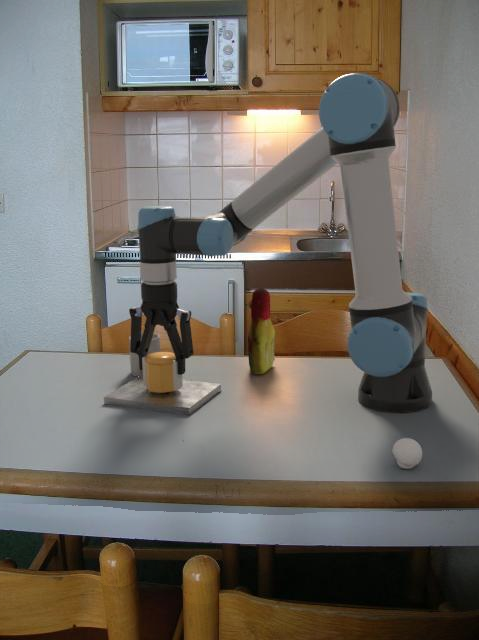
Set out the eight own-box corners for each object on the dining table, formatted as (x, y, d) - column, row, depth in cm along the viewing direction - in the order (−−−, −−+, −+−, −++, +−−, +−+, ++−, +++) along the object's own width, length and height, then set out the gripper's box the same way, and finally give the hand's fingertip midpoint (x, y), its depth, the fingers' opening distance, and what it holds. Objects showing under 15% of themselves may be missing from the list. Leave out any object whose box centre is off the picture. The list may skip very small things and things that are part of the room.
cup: (164, 368, 180) (162, 333, 178) (154, 381, 171) (152, 344, 169) (135, 367, 181) (133, 332, 179) (123, 380, 172) (121, 343, 170)
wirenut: (183, 384, 161) (182, 353, 160) (169, 393, 155) (168, 361, 154) (156, 381, 164) (155, 350, 162) (141, 390, 158) (140, 358, 156)
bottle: (269, 378, 171) (268, 293, 167) (242, 377, 173) (240, 292, 168) (278, 363, 183) (277, 283, 178) (253, 362, 184) (251, 283, 179)
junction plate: (221, 390, 163) (220, 366, 162) (189, 414, 149) (188, 388, 148) (141, 381, 171) (140, 358, 170) (104, 403, 156) (102, 378, 155)
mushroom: (393, 459, 126) (394, 432, 125) (422, 462, 125) (423, 435, 124) (390, 471, 122) (391, 443, 121) (420, 475, 120) (422, 446, 119)
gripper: (209, 280, 154) (211, 386, 159) (127, 275, 161) (132, 376, 166) (193, 287, 147) (196, 397, 152) (108, 281, 154) (114, 386, 160)
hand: (162, 386), depth 159 cm, fingers closed on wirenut, 7 cm apart
